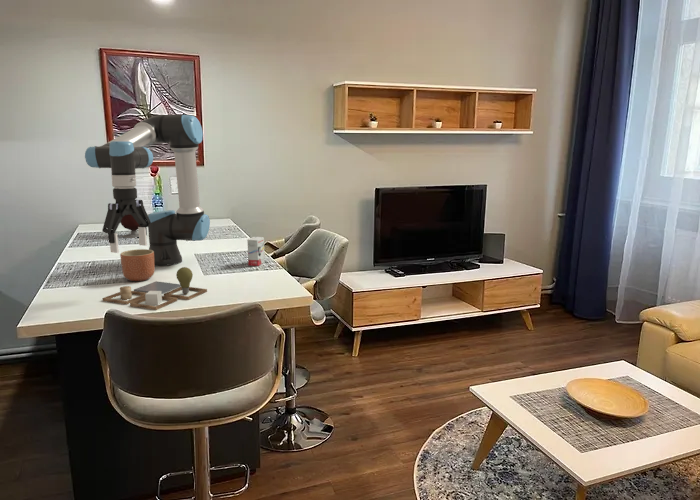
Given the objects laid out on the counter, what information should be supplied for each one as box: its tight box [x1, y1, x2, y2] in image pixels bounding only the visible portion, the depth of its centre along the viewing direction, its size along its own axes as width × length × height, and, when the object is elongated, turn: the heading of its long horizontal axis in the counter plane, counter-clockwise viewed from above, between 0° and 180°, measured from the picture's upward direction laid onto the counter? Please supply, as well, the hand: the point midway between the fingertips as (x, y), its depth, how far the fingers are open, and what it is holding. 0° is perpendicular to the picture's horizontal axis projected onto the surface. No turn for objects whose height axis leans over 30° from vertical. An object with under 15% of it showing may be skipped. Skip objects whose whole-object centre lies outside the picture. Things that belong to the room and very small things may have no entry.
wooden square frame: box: [101, 290, 146, 305], centre depth 185 cm, size 11×11×1 cm
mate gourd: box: [120, 214, 141, 239], centre depth 296 cm, size 16×14×20 cm
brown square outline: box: [163, 286, 208, 301], centre depth 190 cm, size 11×11×1 cm
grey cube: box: [145, 291, 163, 306], centre depth 179 cm, size 4×4×4 cm
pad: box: [133, 280, 181, 295], centre depth 197 cm, size 12×12×1 cm
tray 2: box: [129, 295, 178, 311], centre depth 179 cm, size 11×11×1 cm
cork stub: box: [119, 285, 133, 301], centre depth 184 cm, size 4×4×4 cm
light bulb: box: [175, 266, 194, 295], centre depth 189 cm, size 6×6×10 cm
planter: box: [120, 248, 156, 282], centre depth 208 cm, size 12×12×11 cm
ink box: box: [247, 236, 266, 267], centre depth 235 cm, size 9×5×12 cm, turn 168°
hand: (129, 248), depth 183 cm, fingers open, 13 cm apart
